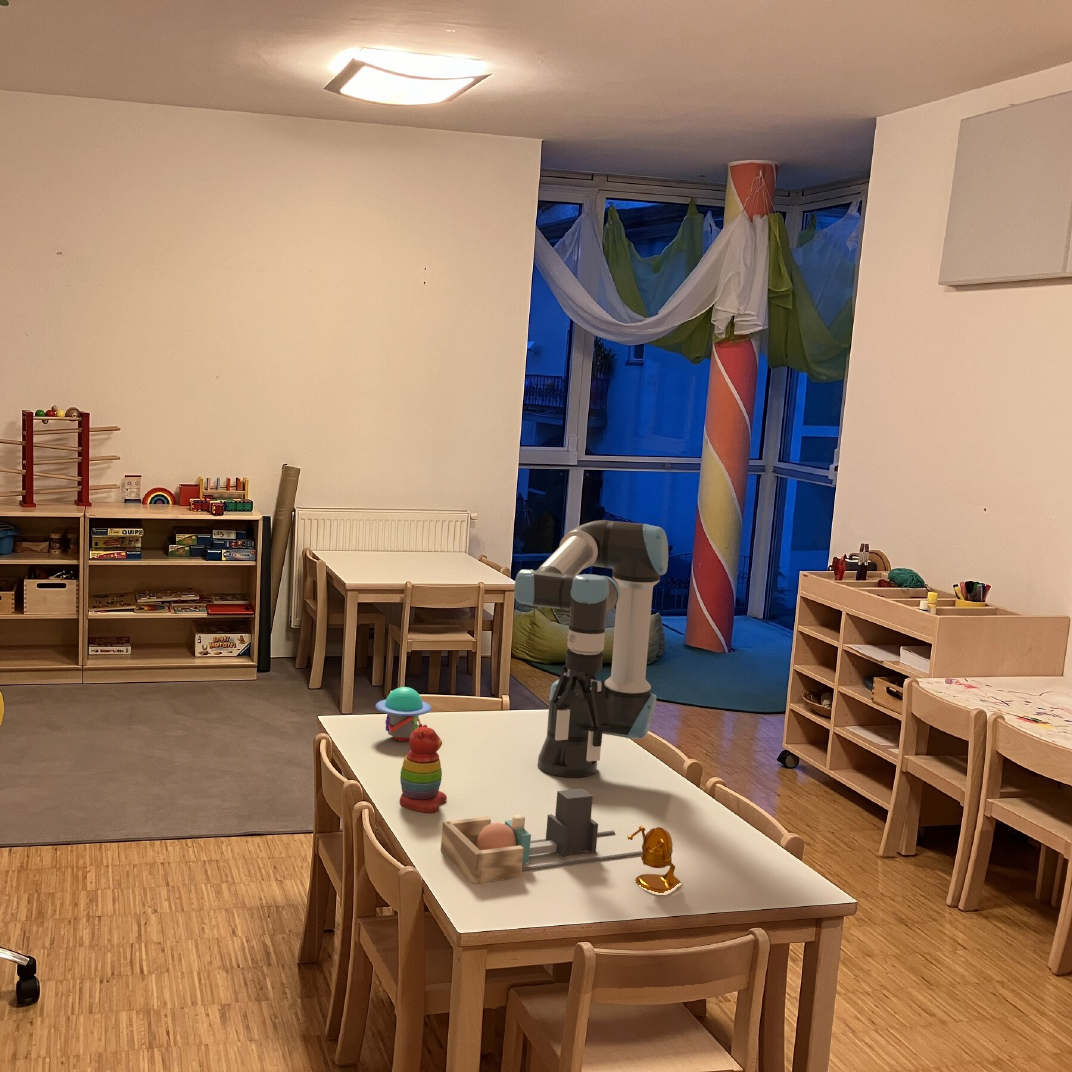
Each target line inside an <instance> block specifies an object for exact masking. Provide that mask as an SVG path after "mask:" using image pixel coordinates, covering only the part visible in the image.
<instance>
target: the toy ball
mask: <svg viewBox="0 0 1072 1072" xmlns="http://www.w3.org/2000/svg"><path fill="white" fill-rule="evenodd" d="M511 846H516V836H515V834H514V832H513V831H512V829H511V828H510V827H508V826H507V825H505V823H502V822H492V823H491V824H489V825H487V826H485V827H484V828H483V829H482V830H481V832H480V834H479V836H478V840H477V847H478V849H479V850H488V849H496V848H503V847H511Z"/></svg>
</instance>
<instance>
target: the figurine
mask: <svg viewBox="0 0 1072 1072" xmlns="http://www.w3.org/2000/svg"><path fill="white" fill-rule="evenodd" d="M645 831H646V827H643V826H642V825H639V827H638V829H637V830H636V831H635V832H633V833H632V834H629V835H627V840H630V841H632V840H633V839H634V837H635V836H637V835H638V834H639V833H640V832H641V836H642V844H641V851H642V854H641V855H640V858H641V861H642V864H643V866H648V867H650V868H653V869H664V868H666V867H669V868H668V870H667V872H666V873H665V874H657V873H654V874H653V873H642V874H639V875H638V876H636V877H635V880H634V882H635V881H636V882H635V884H636V883H637V884H638V885H641V887H643V888H646V889H647V890H651V891H654V892H658V893H664V892H665V891H668V890H671V889H672V888H674V887H675V886H676V885H677V884H679V883H682V882H681V880H680V879H679V878H678V877H676V876H675V874H674V873H675V870H676V865H675V864H674V863H673V862H672V860H673V858H672V854H673V851H674V850H673V844H674V843H673V840H672V835H671V834H670V832H669V831H668V830H666V829H665V828H664V827H663V828H662V827H661V826H657V827H654V828H651V829H649V831H648V832H646V833H645ZM637 884H636V885H637ZM638 885H637V886H638Z"/></svg>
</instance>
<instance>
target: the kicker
mask: <svg viewBox="0 0 1072 1072" xmlns="http://www.w3.org/2000/svg"><path fill="white" fill-rule="evenodd" d="M593 798H594V796H593V795H592V794H590V793H589V791H587V790H585V789H584V788H576V789H566V790H557V791H556V801H555V805H556V806H555V814H552V813H551V814H547V820H546V822H547V823H546V832H545V839H546V841H543V842H535V843H530V841H532V839H531V838H532V833H530V832H529V831H527V830H526V829H525V824H526V823H525V822H526V817H525V816H524V815H521V814H514V815H512V817H511V819H510V820H505V821H504V824H505V825H507V826H508V827H510V828H511V829H512V831H513V832H514V834H515V836H516V846H519V845H521V846H522V847H523V848H524V851H523V864H522V865H524V864H529V863H530V862H529V861H530V856H535V855H541V854H542V855H543V854H550V853H556V854H557V855H558V856H559V857H560V858H562V859H563V858H567V855H568V854H575V853H583V852H589V853H590V854H592V855H594V854H596V853H597V845H598V844H597V843H598V836H597V833H598V832H599V823H598V822H596V821H595V820H594V819H592V810H593Z"/></svg>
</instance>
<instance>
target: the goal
mask: <svg viewBox="0 0 1072 1072" xmlns="http://www.w3.org/2000/svg"><path fill="white" fill-rule="evenodd" d="M491 822H492V820H491V818H490V817H489V816H483V817H472V818H464V819H456V820H445V821H442V825H441V839H440V840H441V841H440V842H441V843H440V850H441V851H442V853H444V855H445V856H446V857H447V858H448V859H449V860H450V861H451V862H452V863H453V864H454V865H455V866H456V867H457V868H458V869H459V870H460V871H461V872H462V873H463V875H465V876H466V878H468V880H469V881H470V882H471V883H472V884H474V885H476V883H477V884H483V883H484V882H485V883H490V881H491V882H498V881H505V880H513V879H518V878H519V879H520V878H522V874H523V872H522V867H523V865H524V864H523V851H524V848H523V847H522V846H521V845H519V846H511V847H503V848H496V849H488V850H479V849H478V847H477V840H478V836H479V834H480V832H481V830H482V829H483V828H484V827H485V826H487V825H489V824H491ZM512 878H513V879H512Z"/></svg>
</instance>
